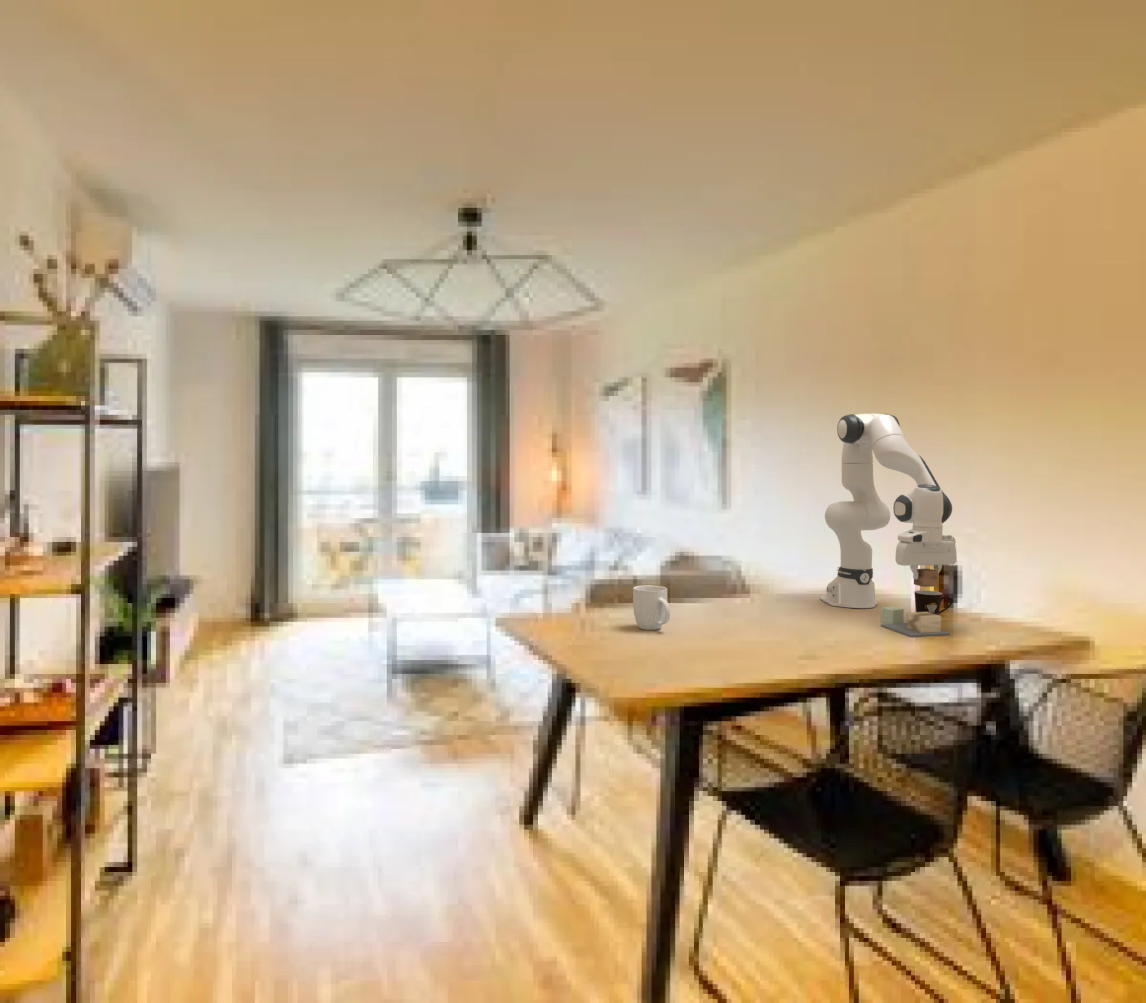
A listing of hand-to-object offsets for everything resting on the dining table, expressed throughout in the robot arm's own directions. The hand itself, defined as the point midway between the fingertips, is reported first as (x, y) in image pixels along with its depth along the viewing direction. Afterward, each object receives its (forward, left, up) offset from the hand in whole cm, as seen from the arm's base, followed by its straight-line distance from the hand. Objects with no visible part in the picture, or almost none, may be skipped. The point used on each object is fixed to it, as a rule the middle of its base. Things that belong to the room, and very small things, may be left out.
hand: (925, 578), depth 263 cm
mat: (-2, -2, -17) cm, 17 cm away
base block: (0, 0, -16) cm, 17 cm away
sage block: (-14, -2, -17) cm, 22 cm away
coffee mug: (-12, +12, -17) cm, 24 cm away
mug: (-21, -85, -17) cm, 89 cm away
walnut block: (0, 0, -2) cm, 2 cm away
